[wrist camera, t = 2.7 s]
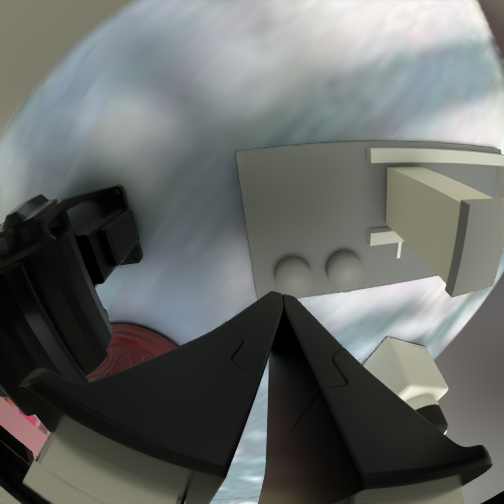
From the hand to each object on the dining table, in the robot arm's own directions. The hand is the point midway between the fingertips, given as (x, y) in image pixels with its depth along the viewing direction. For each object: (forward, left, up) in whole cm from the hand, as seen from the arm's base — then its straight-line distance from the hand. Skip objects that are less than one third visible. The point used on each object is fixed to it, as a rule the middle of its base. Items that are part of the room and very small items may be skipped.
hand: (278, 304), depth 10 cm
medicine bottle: (+13, -20, -12) cm, 26 cm away
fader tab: (+11, 0, -12) cm, 16 cm away
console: (+11, -2, -12) cm, 16 cm away
